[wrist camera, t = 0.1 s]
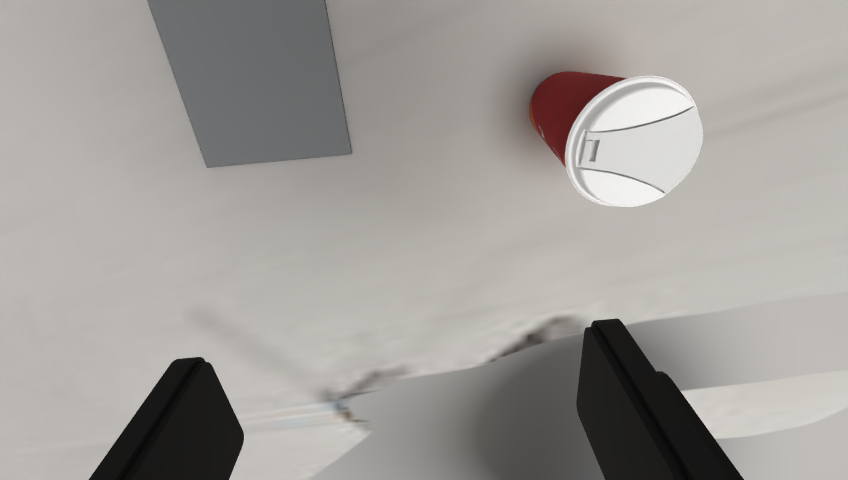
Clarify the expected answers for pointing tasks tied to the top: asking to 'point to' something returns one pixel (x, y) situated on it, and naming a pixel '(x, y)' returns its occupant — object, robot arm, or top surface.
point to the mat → (255, 78)
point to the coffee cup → (619, 134)
